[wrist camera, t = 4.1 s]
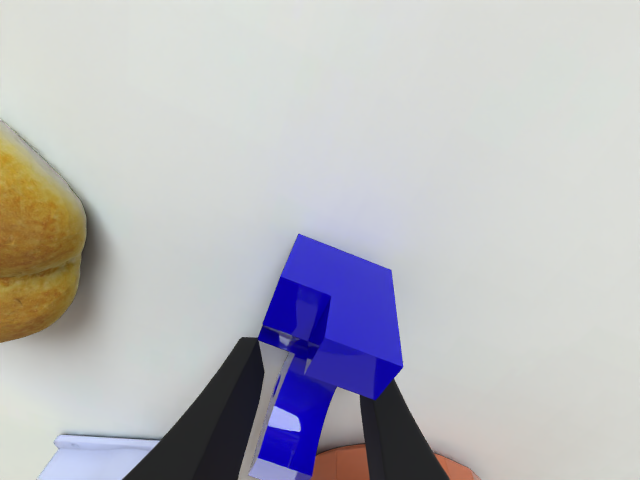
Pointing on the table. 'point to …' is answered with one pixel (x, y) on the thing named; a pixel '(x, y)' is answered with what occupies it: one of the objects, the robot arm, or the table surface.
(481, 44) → the table surface
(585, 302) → the table surface
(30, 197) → the bread roll
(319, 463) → the bowl
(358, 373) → the cable holder
